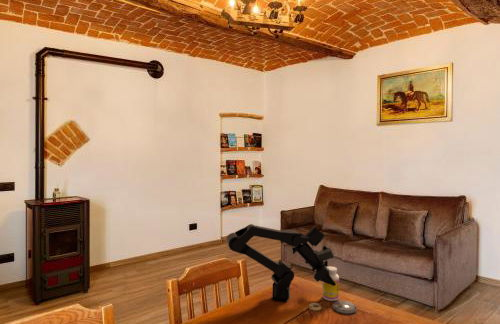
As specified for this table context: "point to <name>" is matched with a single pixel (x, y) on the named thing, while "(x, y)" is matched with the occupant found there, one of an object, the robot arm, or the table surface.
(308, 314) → the table surface
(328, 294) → the supplement bottle
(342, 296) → the table surface
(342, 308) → the flange pad
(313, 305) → the small brass flange
